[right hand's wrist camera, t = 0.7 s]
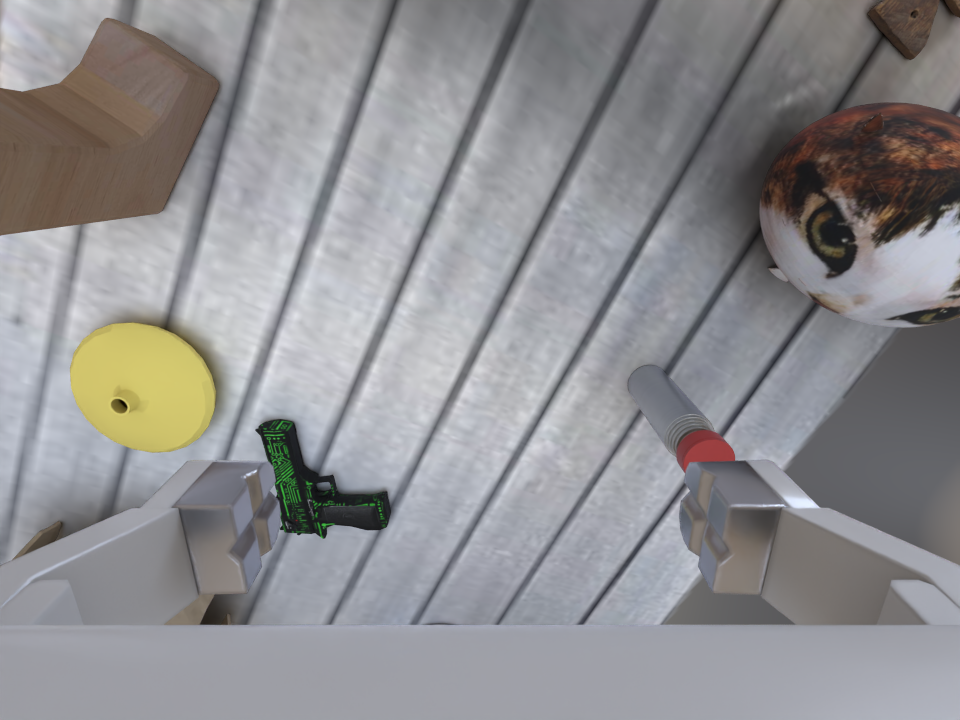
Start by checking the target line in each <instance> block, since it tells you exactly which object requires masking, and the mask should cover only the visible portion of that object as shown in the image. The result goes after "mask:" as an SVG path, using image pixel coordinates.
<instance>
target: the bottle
mask: <svg viewBox="0 0 960 720" xmlns="http://www.w3.org/2000/svg"><path fill="white" fill-rule="evenodd" d="M628 390H629V393H630V394H631V396H632V397H633V399H634V400H635V402H636V403H637V405H638V406H639V408H640V409H641V411H642V412H643V414H644V415H645V417H646V418H647V420H648V421H649V423H650V424H651V426H652V427H653V429H654V430H655V432H656V433H657V435H658V436H659V438H660V439H661V441H662V442H663V444H664V445H665V447H666V448H667V450H668V451H669V452H670V453H671V454H673V455H674V456H675V457H676V452H677V448H678V445H679V444H680V442H681V441H682V440H683V439H684V438H685V437H686V436H687V435H689V434H691V433H693V432H695V431H699V430H710V431H713V432H715V431H714V428H713V426H712V424H711V423H710V421H709V420H708V419H707V418H706V417H705V416H704V415H703V414H702V412H701V411H700V410H699V409H698V408H697V407H696V406H695V405H694V404H693V403H692V401H691V400H690V399H689V398H688V397H687V396H686V395H685V394H684V393H683V392H682V390H681V389H680V388H679V387H678V386H677V385H676V384H675V383H674V382H673V381H672V379H671V378H670V377H669V376H668V375H667V374H666V373H665V372H664V371H663V370H662V369H661V368H659V367H657V366H654V365H646V366H642V367H640V368H638V369H637V370H635V371H634V372H633V373H632V375H631V376H630V378H629V381H628Z"/></svg>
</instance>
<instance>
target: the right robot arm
mask: <svg viewBox="0 0 960 720" xmlns="http://www.w3.org/2000/svg"><path fill="white" fill-rule="evenodd" d="M275 482H276V479H275V473H274V468H273V466H272V465H271V463H270V462H269V461H226V460H219V461H217V460H193V461H187V462H186V463H185V464H184V465H183V466H182V467H181V468H180V469H179V470H178V471H177V472H176V473H175V474H174V475H173V476H172V477H171V478H170V479H169V480H168V481H167V482H166V483H165V484H164V485H163V486H162V487H161V488H160V489H159V490H158V491H157V492H156V493H155V494H154V495H153V496H152V497H151V498H150V499H149V500H147V501H146V502H145V503H144V504H143V505H142V506H141V507H140V508H130V509H128V510H126V511H123V512H121V513H119V514H116V515H114V516H112V517H110V518H107V519H105V520H103V521H100V522H98V523H96V524H94V525H91V526H89V527H87V528H84V529H82V530H80V531H78V532H75V533H73V534H71V535H68V536H66V537H64V538H62V539H59V540H57V541H55V542H52V543H50V544H48V545H46V546H43V547H41V548H39V549H36V550H34V551H32V552H30V553H27V554H25V555H23V556H21V557H18V558H16V559H14V560H11V561H9V562H7V563H5V564H2V565H0V720H960V565H957V564H955V563H953V562H951V561H948V560H946V559H944V558H941V557H939V556H937V555H935V554H932V553H930V552H928V551H926V550H923V549H921V548H919V547H916V546H914V545H912V544H910V543H907V542H905V541H903V540H900V539H898V538H896V537H894V536H891V535H889V534H887V533H885V532H882V531H880V530H878V529H875V528H873V527H871V526H869V525H866V524H864V523H862V522H859V521H857V520H855V519H853V518H850V517H848V516H846V515H843V514H841V513H839V512H837V511H834V510H832V509H830V508H820V507H819V506H818V505H817V504H816V503H815V502H814V501H813V500H811V498H810V497H808V496H807V495H806V494H805V493H804V492H803V491H802V490H801V489H800V488H799V487H798V486H797V485H796V484H795V483H794V482H793V481H792V480H791V479H790V478H789V477H788V476H787V475H786V474H785V473H784V472H783V471H782V470H781V469H780V468H779V467H778V466H777V465H776V464H775V463H774V462H772V461H769V460H748V461H708V462H689V464H688V466H687V469H686V472H685V478H684V482H685V484H686V485H687V487H688V488H689V490H690V492H689V493H688V494H687V495H686V496H685V497H684V498H683V499H682V500H681V505H680V513H679V519H680V529H681V533H682V536H683V539H684V542H685V543H686V545H687V547H688V549H689V550H690V551H692V552H693V553H695V554H696V555H698V556H699V557H700V558H699V564H698V567H699V569H700V571H701V573H702V575H703V576H704V578H705V580H706V582H707V584H708V585H709V587H710V589H711V591H712V592H713V593H714V594H750V595H761V597H762V598H763V599H764V600H766V601H767V602H768V603H769V604H771V605H772V606H773V607H775V608H776V609H777V610H778V611H780V612H781V613H782V614H784V615H785V616H786V617H787V618H789V619H790V620H791V621H793V622H794V623H795V624H796V625H164V624H165V623H166V622H168V621H169V620H170V619H171V618H173V617H174V616H175V615H177V614H178V613H179V612H180V611H182V610H183V609H184V608H186V607H187V606H188V605H189V604H191V603H192V602H193V601H195V600H196V599H197V598H198V597H199V595H209V594H245V593H248V591H249V589H250V587H251V585H252V584H253V582H254V580H255V578H256V576H257V575H258V573H259V571H260V569H261V567H262V564H261V558H260V557H261V556H262V555H264V554H265V553H267V552H268V551H270V550H271V549H272V547H273V545H274V543H275V541H276V539H277V536H278V532H279V528H280V517H281V511H280V504H279V500H278V499H277V498H276V497H275V496H274V495H273V494H272V493H271V492H270V490H271V488H272V487H273V485H274V484H275Z"/></svg>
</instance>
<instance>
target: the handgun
mask: <svg viewBox="0 0 960 720" xmlns="http://www.w3.org/2000/svg"><path fill="white" fill-rule="evenodd" d="M255 431H256V432H257V433H258V434H259V435H260V436H261V438H262V442H263V445H264V448H265V452H266V455H267V459H268V461H269V462H270V463H271V465H272V466H273V468H274V473H275V479H276V482H275V487H276V490H277V496H276V498H277V499H278V500H279V504H280V511H281V517H280V518H281V521H282V526H281V527H280V530H284V531H285V532H287V533H297V535H300V534H301V533H304V534H312V533H316V534H317V535H319V536H320V537H321V538H323V539H324V538H325V537H326V535H327V527H329V526H332V525H342V526H352V527H356V528H360V529H364V530H381V529H383V528H386V527H387V525H388V522H389V518H390V514H391V510H390V505H389V500H388V495H387V492H381V493H378V494H375V495H340V494H339V493H338V491H336V489H337V488H336V483H335V479H334V476H333V475H330V476H321V477H320V476H318V474H316V473H314V472H311V471H310V470H309V469H308V468H307V467H306V466H304V464H303V460H302V456H301V452H300V448H299V444H298V440H297V435H296V429H295V425H294V423H293V422H291V421H286V420H281V419H280V420H273V421H269V422H265V423H263V424H261V425H260V426H259V427H258V429H256V430H255ZM321 482H330V485H331V489H330V490H327V491H319V490H318V489H317V487H316V483H321ZM331 490H332V491H331ZM330 491H331V492H330Z"/></svg>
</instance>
